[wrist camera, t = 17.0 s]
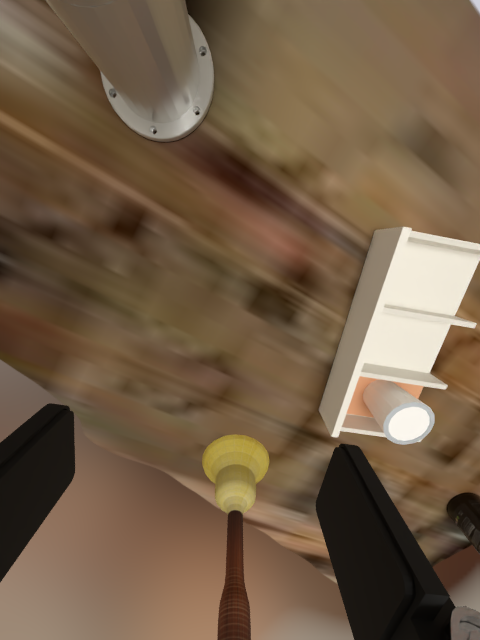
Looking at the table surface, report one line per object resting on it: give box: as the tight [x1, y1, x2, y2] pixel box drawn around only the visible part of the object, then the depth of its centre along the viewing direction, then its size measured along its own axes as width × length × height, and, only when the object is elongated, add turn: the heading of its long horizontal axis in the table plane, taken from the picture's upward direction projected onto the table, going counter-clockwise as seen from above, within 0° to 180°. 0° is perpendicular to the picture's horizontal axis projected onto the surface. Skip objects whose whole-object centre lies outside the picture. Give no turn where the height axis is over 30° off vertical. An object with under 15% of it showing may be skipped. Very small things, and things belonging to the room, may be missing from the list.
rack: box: [319, 227, 480, 442], centre depth 35 cm, size 29×15×6 cm, turn 170°
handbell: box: [202, 435, 269, 640], centre depth 33 cm, size 12×12×25 cm
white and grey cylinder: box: [363, 379, 434, 445], centre depth 36 cm, size 7×7×7 cm
